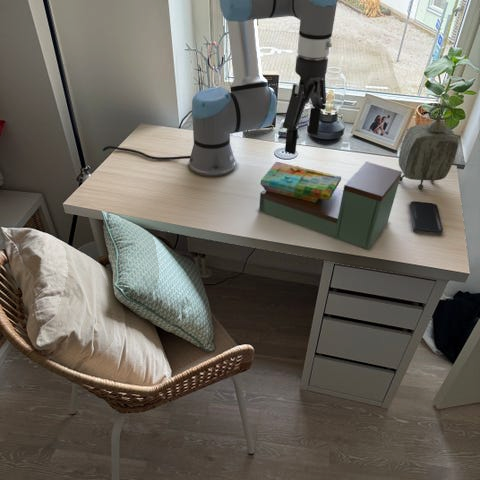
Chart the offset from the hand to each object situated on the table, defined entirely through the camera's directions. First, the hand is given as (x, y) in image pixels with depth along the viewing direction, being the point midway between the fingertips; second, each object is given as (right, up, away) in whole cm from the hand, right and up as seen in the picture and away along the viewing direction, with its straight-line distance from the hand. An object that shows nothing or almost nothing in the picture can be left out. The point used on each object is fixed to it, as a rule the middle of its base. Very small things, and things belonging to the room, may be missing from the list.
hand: (301, 142), depth 125 cm
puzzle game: (+1, -10, +9) cm, 14 cm away
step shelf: (+7, -18, +11) cm, 22 cm away
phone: (+37, -18, +11) cm, 43 cm away
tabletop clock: (+40, -5, +24) cm, 48 cm away
